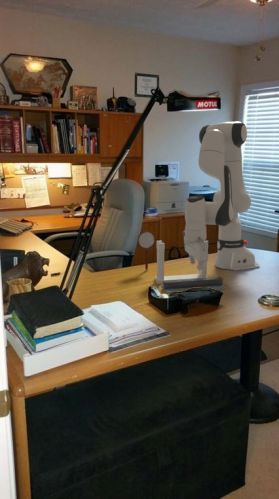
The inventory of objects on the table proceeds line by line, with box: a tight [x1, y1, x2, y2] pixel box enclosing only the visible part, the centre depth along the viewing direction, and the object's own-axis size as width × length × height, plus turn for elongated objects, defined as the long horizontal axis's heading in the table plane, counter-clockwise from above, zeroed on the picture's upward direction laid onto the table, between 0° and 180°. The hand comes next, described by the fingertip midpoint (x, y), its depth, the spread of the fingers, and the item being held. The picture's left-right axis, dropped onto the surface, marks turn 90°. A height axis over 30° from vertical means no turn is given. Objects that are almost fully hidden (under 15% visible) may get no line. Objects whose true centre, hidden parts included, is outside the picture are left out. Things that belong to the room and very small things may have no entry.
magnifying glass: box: [137, 230, 156, 272], centre depth 198 cm, size 9×2×20 cm, turn 103°
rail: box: [162, 276, 224, 290], centre depth 175 cm, size 26×3×3 cm, turn 100°
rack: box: [154, 240, 210, 285], centre depth 183 cm, size 24×6×18 cm, turn 100°
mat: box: [161, 284, 227, 294], centre depth 175 cm, size 26×10×1 cm, turn 100°
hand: (196, 266), depth 173 cm, fingers open, 8 cm apart
